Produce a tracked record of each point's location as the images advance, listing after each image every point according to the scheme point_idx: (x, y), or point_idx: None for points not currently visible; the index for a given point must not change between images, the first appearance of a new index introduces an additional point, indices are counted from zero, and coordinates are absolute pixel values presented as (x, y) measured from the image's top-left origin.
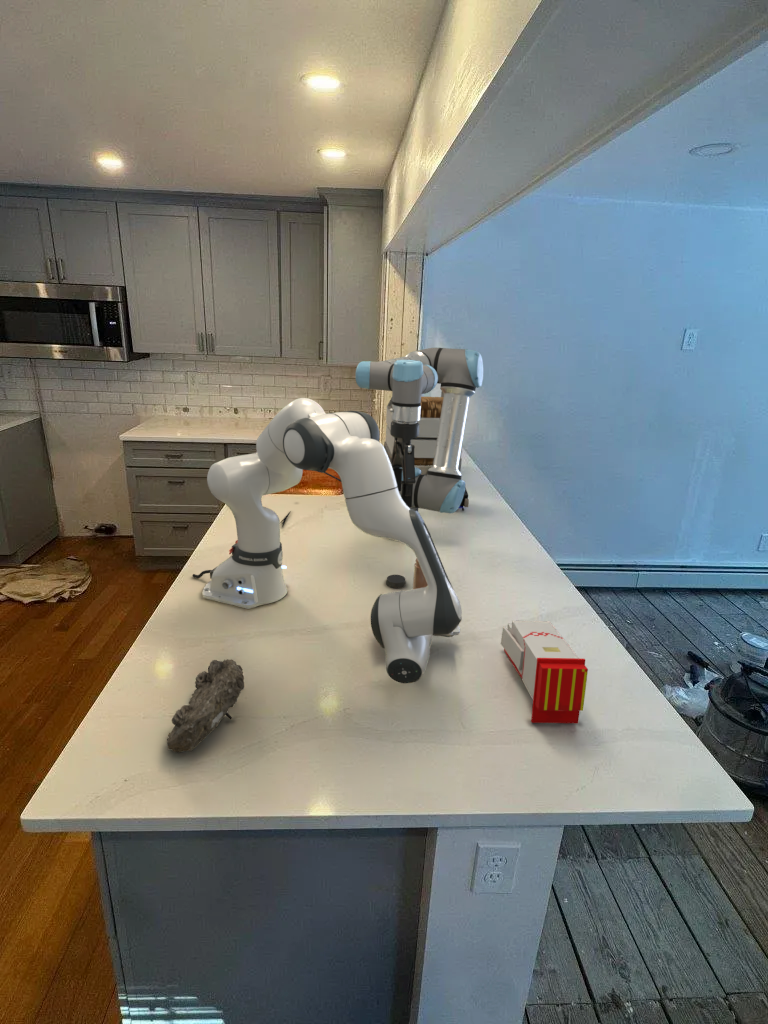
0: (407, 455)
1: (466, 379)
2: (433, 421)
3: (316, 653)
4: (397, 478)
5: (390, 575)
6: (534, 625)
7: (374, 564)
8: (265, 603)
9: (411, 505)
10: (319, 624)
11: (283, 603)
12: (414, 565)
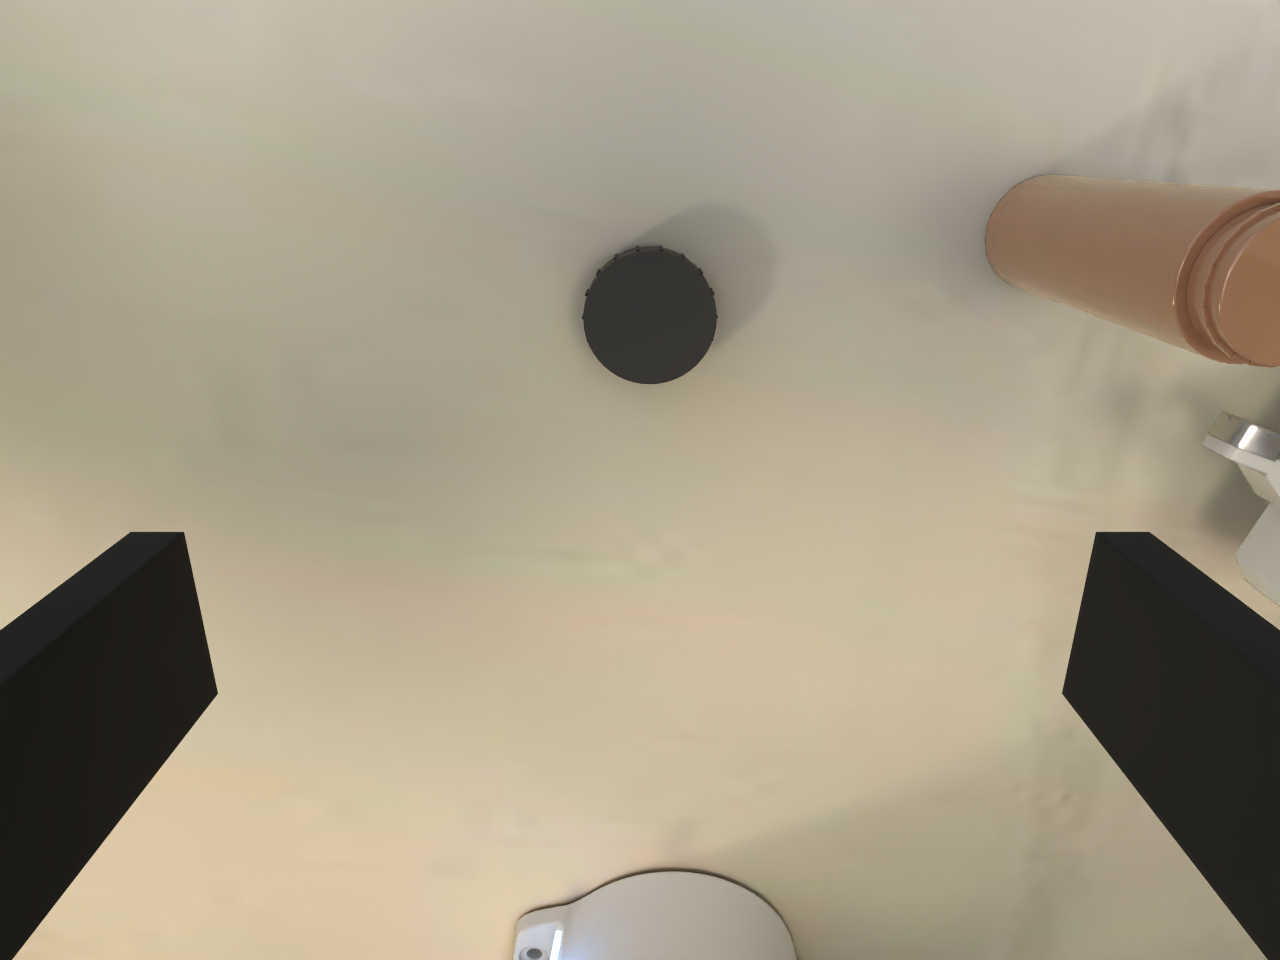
0: None
1: None
2: None
3: None
4: (26, 784)
5: (596, 349)
6: None
7: (342, 402)
8: (793, 949)
9: (1169, 548)
10: (1020, 755)
11: (791, 881)
12: (1228, 362)
